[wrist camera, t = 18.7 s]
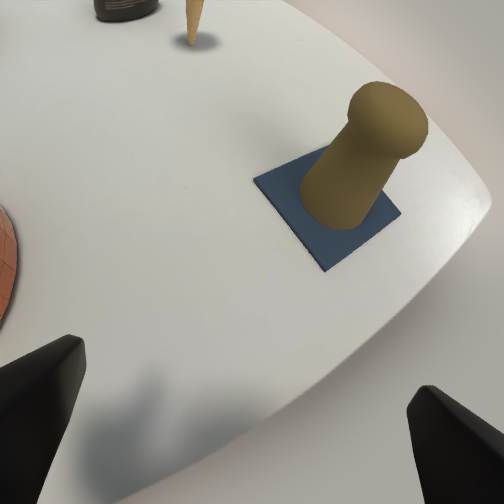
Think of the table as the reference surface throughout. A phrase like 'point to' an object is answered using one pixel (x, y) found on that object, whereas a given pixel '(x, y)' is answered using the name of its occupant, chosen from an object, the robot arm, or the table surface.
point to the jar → (123, 9)
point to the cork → (363, 155)
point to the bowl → (6, 260)
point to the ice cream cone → (193, 18)
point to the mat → (306, 227)
